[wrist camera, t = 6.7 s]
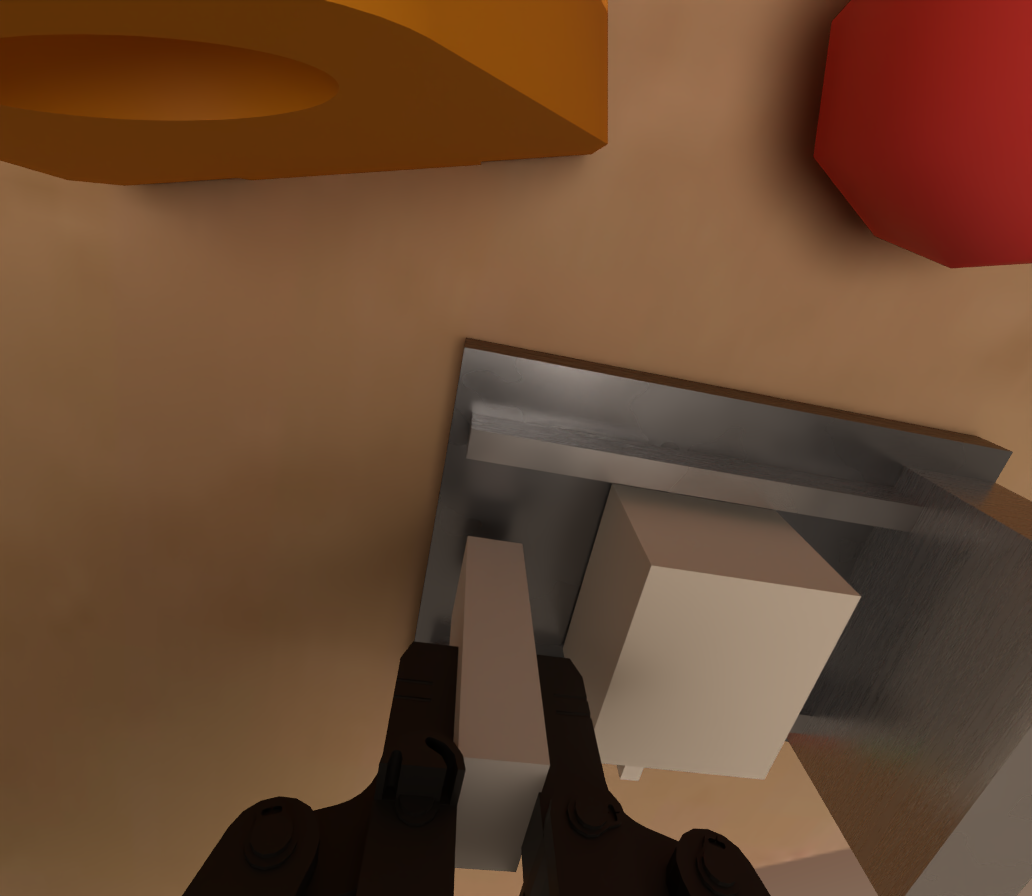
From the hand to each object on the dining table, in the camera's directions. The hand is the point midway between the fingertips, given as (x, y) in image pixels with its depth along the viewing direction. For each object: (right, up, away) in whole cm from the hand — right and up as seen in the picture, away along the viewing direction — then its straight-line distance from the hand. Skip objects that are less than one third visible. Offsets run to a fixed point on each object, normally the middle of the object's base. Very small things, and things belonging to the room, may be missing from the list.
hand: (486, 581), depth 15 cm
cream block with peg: (+5, -2, +2) cm, 6 cm away
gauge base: (+6, 0, +3) cm, 7 cm away
